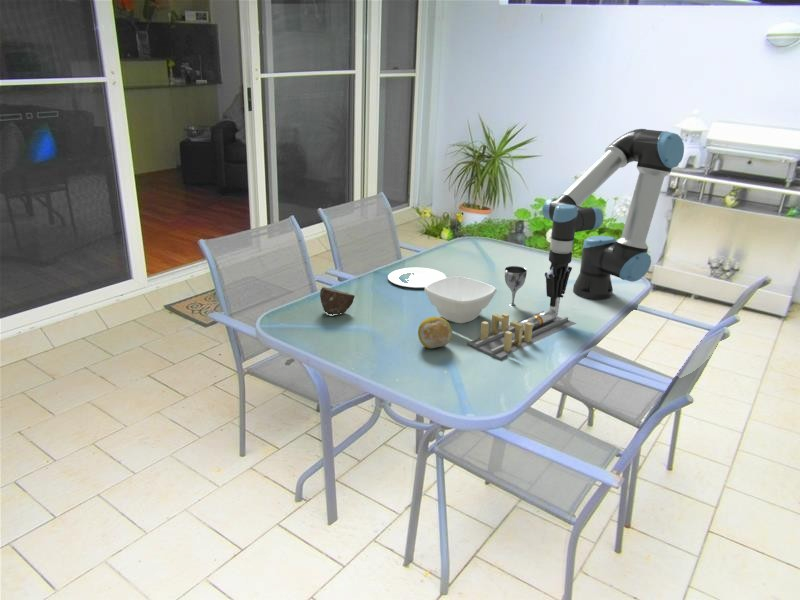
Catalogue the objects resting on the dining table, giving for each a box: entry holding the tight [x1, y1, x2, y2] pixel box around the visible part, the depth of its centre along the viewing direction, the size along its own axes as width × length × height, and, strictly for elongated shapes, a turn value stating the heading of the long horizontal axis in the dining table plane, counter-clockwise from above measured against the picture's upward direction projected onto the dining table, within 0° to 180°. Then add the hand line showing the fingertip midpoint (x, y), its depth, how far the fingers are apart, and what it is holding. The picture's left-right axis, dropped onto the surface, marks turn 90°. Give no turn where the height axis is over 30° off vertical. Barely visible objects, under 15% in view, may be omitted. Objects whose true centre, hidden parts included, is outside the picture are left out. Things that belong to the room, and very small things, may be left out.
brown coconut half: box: [319, 286, 355, 315], centre depth 216 cm, size 12×10×10 cm
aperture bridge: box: [490, 313, 523, 347], centre depth 196 cm, size 2×12×7 cm, turn 41°
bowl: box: [423, 275, 497, 324], centre depth 214 cm, size 22×22×12 cm
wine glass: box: [504, 265, 528, 307], centre depth 224 cm, size 8×8×15 cm
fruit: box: [417, 316, 453, 349], centre depth 192 cm, size 10×11×10 cm
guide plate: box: [466, 310, 576, 361], centre depth 202 cm, size 41×14×7 cm, turn 131°
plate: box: [387, 267, 448, 289], centre depth 253 cm, size 25×25×2 cm
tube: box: [520, 309, 558, 334], centre depth 207 cm, size 18×4×4 cm, turn 131°
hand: (553, 314), depth 213 cm, fingers closed
